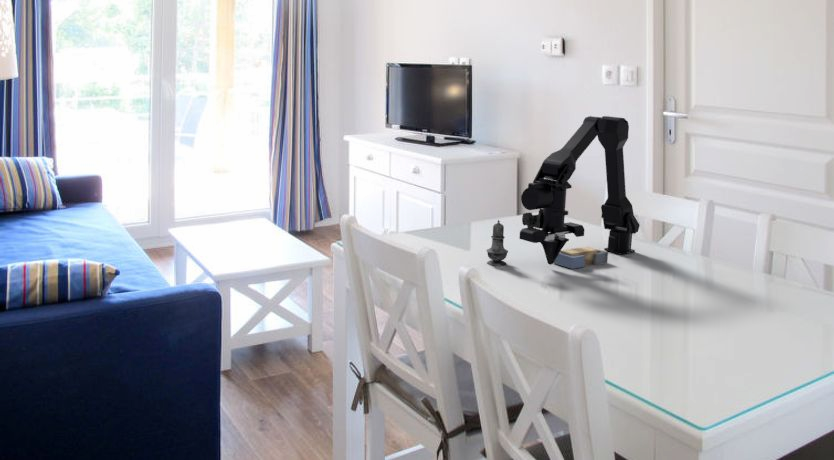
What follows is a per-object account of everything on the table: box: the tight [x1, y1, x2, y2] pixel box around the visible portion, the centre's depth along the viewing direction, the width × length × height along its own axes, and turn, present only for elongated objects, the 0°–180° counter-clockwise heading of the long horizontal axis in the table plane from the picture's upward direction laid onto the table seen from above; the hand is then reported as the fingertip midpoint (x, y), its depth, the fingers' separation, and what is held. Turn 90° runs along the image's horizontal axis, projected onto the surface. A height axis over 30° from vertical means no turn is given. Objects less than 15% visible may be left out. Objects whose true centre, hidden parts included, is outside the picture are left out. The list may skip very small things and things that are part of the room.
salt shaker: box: [486, 220, 509, 267], centre depth 238 cm, size 6×6×12 cm
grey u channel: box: [592, 248, 609, 266], centre depth 244 cm, size 4×8×3 cm, turn 36°
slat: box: [560, 246, 599, 266], centre depth 241 cm, size 10×4×4 cm, turn 122°
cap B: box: [553, 253, 585, 270], centre depth 239 cm, size 4×8×3 cm, turn 36°
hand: (550, 264), depth 235 cm, fingers closed
